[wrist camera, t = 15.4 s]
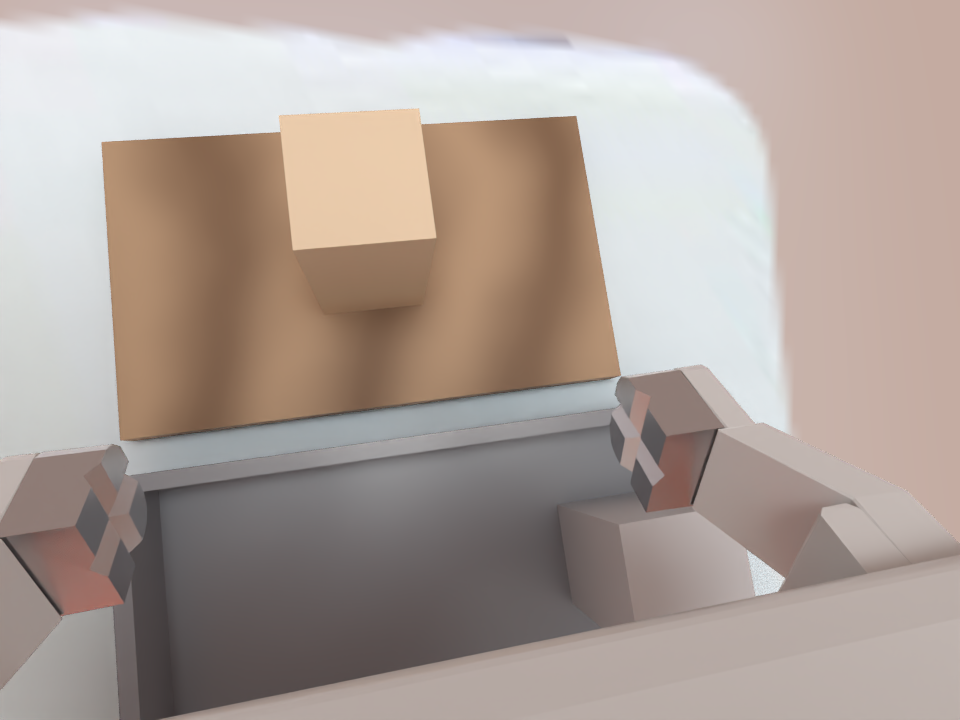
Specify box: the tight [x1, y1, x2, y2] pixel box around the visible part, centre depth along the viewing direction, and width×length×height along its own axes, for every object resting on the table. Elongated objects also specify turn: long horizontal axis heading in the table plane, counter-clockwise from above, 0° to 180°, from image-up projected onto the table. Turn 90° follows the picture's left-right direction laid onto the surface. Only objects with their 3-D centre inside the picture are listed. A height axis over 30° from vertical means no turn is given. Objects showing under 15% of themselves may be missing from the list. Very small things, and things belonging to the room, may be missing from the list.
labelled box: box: [279, 109, 436, 315], centre depth 21 cm, size 4×4×8 cm
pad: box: [102, 116, 621, 441], centre depth 26 cm, size 20×12×1 cm, turn 98°
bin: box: [113, 408, 635, 720], centre depth 23 cm, size 22×11×4 cm, turn 98°
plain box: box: [557, 492, 756, 628], centre depth 22 cm, size 4×4×7 cm
